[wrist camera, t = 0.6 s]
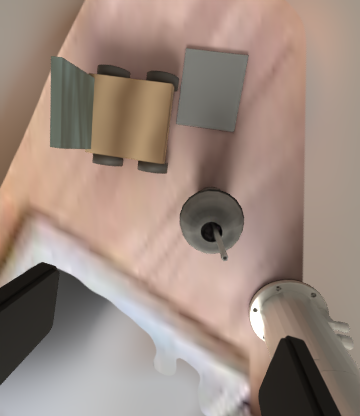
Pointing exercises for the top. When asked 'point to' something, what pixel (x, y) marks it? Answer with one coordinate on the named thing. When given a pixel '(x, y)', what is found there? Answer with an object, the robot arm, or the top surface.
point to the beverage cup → (212, 221)
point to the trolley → (112, 114)
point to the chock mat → (211, 89)
